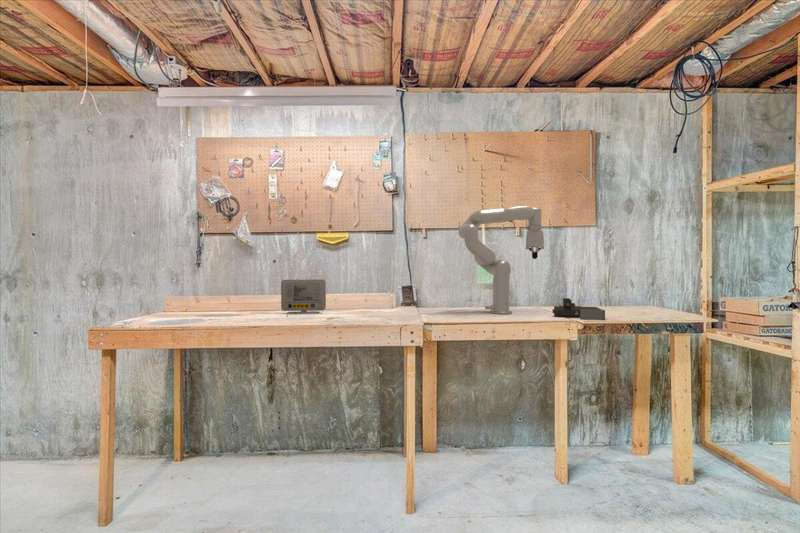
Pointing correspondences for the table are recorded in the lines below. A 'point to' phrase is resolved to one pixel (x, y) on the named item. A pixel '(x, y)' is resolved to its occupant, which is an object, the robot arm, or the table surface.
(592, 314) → the dock
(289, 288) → the network device
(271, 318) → the table surface
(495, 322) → the table surface
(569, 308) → the laser sight
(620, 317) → the table surface
